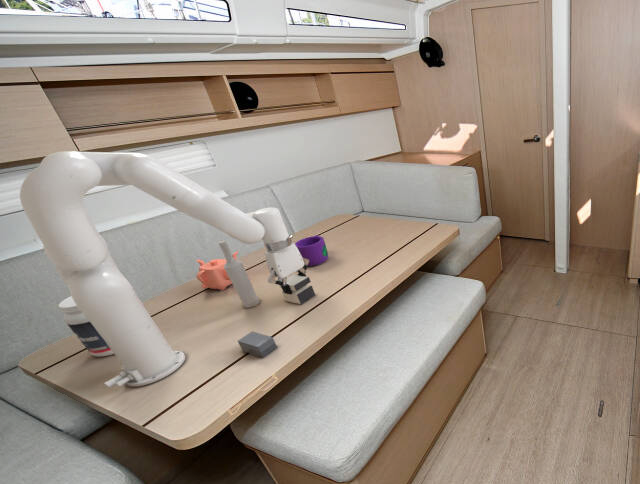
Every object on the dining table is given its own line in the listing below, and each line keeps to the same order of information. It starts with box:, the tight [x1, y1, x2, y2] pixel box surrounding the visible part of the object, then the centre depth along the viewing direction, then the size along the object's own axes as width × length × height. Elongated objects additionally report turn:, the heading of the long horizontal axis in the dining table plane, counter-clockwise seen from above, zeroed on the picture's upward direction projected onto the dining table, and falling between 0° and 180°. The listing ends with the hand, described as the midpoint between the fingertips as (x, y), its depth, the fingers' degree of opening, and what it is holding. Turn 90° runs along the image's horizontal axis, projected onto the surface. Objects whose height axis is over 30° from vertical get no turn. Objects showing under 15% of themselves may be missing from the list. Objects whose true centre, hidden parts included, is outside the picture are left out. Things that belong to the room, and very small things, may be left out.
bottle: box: [217, 240, 261, 309], centre depth 121 cm, size 5×5×25 cm
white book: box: [278, 274, 311, 291], centre depth 125 cm, size 6×8×2 cm
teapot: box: [195, 250, 240, 291], centre depth 139 cm, size 14×14×11 cm
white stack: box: [281, 284, 316, 305], centre depth 127 cm, size 6×8×4 cm
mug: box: [294, 234, 329, 267], centre depth 154 cm, size 17×11×10 cm, turn 10°
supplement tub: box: [58, 295, 115, 357], centre depth 107 cm, size 13×13×18 cm
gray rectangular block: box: [237, 331, 278, 358], centre depth 103 cm, size 4×9×4 cm, turn 69°
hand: (296, 288), depth 126 cm, fingers closed on white book, 6 cm apart
